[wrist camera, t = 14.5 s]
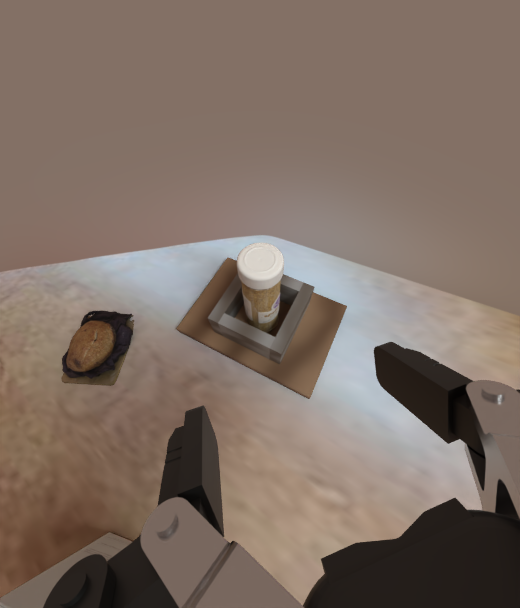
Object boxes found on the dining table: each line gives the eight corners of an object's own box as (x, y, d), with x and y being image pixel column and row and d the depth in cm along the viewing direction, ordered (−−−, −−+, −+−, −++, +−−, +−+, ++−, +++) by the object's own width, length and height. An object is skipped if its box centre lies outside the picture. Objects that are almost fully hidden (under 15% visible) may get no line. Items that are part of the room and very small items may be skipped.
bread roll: (119, 388, 33) (103, 382, 30) (58, 383, 34) (36, 377, 30) (143, 315, 38) (131, 303, 35) (89, 311, 39) (73, 300, 35)
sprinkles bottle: (275, 336, 34) (279, 282, 22) (242, 330, 35) (230, 275, 23) (281, 307, 36) (287, 244, 25) (250, 302, 37) (242, 237, 25)
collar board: (178, 331, 36) (164, 314, 31) (228, 261, 42) (223, 237, 37) (308, 398, 31) (316, 391, 27) (345, 309, 37) (356, 289, 32)
